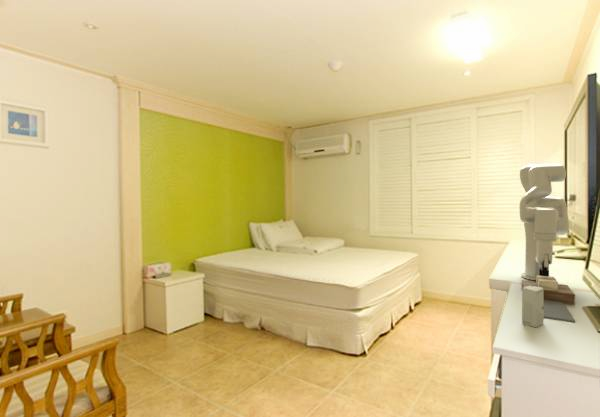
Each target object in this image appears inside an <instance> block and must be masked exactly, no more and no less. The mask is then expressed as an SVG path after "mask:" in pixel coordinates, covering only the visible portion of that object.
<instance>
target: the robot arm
mask: <svg viewBox="0 0 600 417" xmlns="http://www.w3.org/2000/svg"><path fill="white" fill-rule="evenodd" d="M566 176H567V171H566V167H565V166H564V164H562V163H544V164H543V163H542V164H541V163H540V164H527V165H524V166H522V167H521V168H520V170H519V178H520V183H521V185H522V187H523V189H524V192H525V194H524V195H523V196H522V198H521V199H520V201H519V217H520V220H521V222H523V226H524V235H525V260H524V262H525V263H524V272H523V273H521V275H520V276H521V277H522V278H523V279H525V278H526V280H529V279H530V280H529V281H535V280H536V275H539V276H549V277H552V276H551V275H550V270H549V269H550V265H552V264H553V251H554V247H553V244H554V243H553V242H556V241H557V236H564V235H567V234H568V233H569V230H570V220H569V214H568V207H567V201H566V200H565V199H564V198H563V197H560V196H550V195H551V194H552V192H553V189H552V188H553V187H552V183H555V182H556V183H560V182H561V183H562V182H563V181H565V180H566V178H567V177H566Z"/></svg>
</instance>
